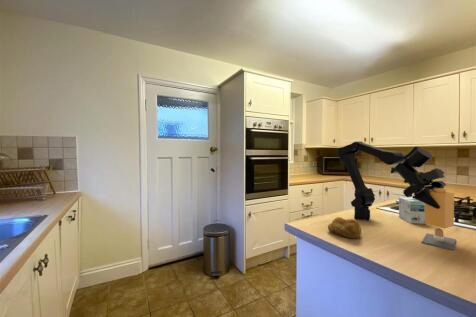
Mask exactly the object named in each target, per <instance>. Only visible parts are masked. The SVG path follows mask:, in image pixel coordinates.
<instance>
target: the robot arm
mask: <svg viewBox="0 0 476 317" xmlns="http://www.w3.org/2000/svg"><path fill="white" fill-rule="evenodd" d="M359 151H360V152H363V153H365V154H368V155H371V156H373V157H375V158H377V159H378V160H379V161H380V162H381V163H384V164H385V165H388V166H391V165H392V166H393V165H395V166H393V167H390V174H398V175H399V176H400V177H401V178H402V179H403V180H402V181H403V183H405V184H408V185H409V186H407V187H406V188H405V189H403V192H402V193H403V195H404V197H407V198H408V197H412V198H413V199H417V200H419V201H421V202H424V203H426V204H428V205H430V206H432V207H434V208H436V209H439V208H440V206H439V205H438V203H437V202H436V201H435V200H434V199H433V197H432V196H431V195H430V192H429V191H431V190H433V188H443V189H445V187H446V186H447V184H446V182H444V181H443V180H437V179H443V178H445V175H444V174H445V171H443V169H441V168H434V169H430V171H426V172H422V171H418V170H417V169H416V168H422V167H423V165H425V164H426V163H428V162H429V161H430V160H431V159H433V157H434V156H433V155H432V153H431V152H429V151H427V150H426V149H423V148H421V147H420V146H414V147H413V148H412V149H411V151H409V152H408V153H407V154H403V153H402V152H401V151H395V150H387V149H382V148H380V147H377V146H375V145H371V144H368V143H365V142H363V141H354V142H352V143H350V144H347V145H345V146H343V147H342V146H341V147H339V148H338V149H337V152H336V153H337V157H338V158H339V160H340V161H341V162H342V163H344V165H345V167H346V169H347V172H348V175H349V176H350V179H351V182H352V183H353V184H352V185H353V186H354V199H353V200H351V201H350V204H351V206H352V207H353V208H354V213H353V214H354V215H353V217H354V219H355V220H362V221H370V219H371V209H370V207H372V206H373V203H374V202H375V201H376V198H375V197H376V195H375V193H374V190H373V189H372V188H371V187H369V188H368V187H367V186H366V184H365V182H364V179H363V178H362V177H363V176H362V175H361V172H360V170H359V167H358V165H357V163H356V161H355V160H356V154H357V153H358V152H359Z"/></svg>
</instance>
